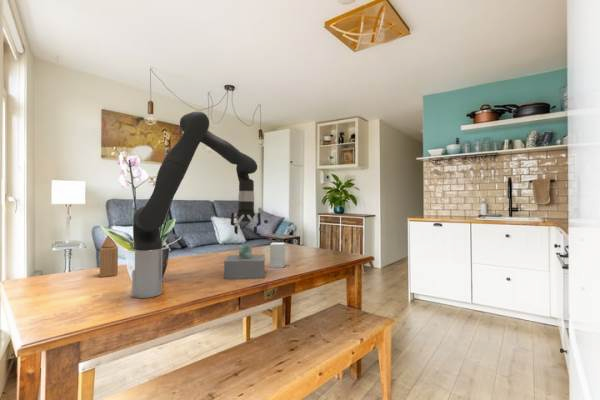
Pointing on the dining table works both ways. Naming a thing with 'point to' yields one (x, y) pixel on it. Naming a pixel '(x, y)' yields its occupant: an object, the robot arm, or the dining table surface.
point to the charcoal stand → (244, 267)
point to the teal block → (245, 251)
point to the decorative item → (108, 258)
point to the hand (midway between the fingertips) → (245, 234)
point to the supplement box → (277, 255)
